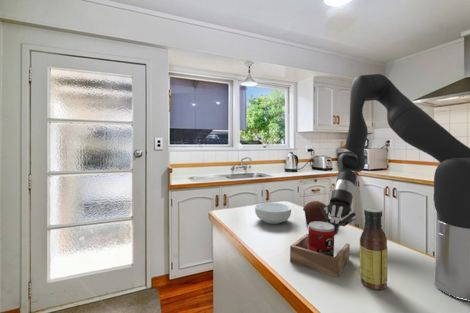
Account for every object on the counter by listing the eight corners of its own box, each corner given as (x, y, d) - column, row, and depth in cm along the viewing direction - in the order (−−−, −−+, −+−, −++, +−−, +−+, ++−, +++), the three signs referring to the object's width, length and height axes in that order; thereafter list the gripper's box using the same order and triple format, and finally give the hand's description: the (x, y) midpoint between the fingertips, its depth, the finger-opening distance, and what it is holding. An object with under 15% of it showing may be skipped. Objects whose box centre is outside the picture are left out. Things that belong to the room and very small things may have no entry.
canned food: (318, 267, 72) (319, 230, 71) (303, 255, 79) (303, 222, 79) (339, 263, 74) (340, 228, 73) (322, 252, 81) (323, 220, 81)
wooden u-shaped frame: (306, 247, 85) (306, 233, 85) (349, 259, 76) (349, 244, 76) (290, 261, 75) (290, 245, 75) (336, 277, 66) (337, 259, 66)
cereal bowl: (294, 227, 105) (294, 211, 104) (256, 227, 105) (256, 211, 105) (287, 216, 122) (287, 202, 121) (254, 215, 122) (254, 202, 121)
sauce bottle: (377, 277, 66) (379, 206, 65) (392, 291, 60) (395, 212, 59) (353, 277, 66) (355, 206, 65) (367, 291, 60) (369, 213, 59)
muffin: (318, 218, 117) (318, 198, 116) (335, 226, 107) (335, 203, 106) (297, 221, 113) (297, 200, 112) (313, 229, 102) (313, 206, 102)
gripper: (323, 186, 96) (311, 224, 87) (360, 190, 88) (350, 233, 79) (327, 197, 100) (316, 234, 92) (362, 202, 92) (354, 243, 83)
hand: (332, 234), depth 85 cm, fingers closed
